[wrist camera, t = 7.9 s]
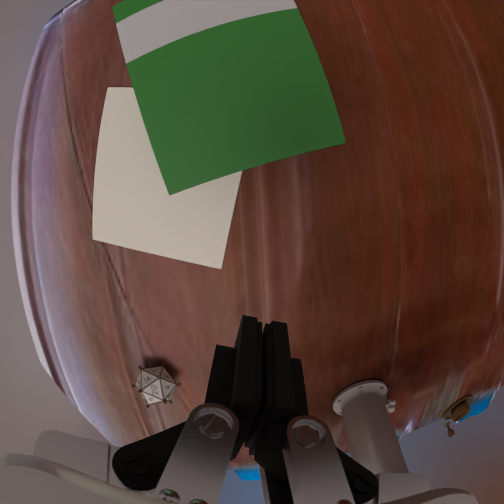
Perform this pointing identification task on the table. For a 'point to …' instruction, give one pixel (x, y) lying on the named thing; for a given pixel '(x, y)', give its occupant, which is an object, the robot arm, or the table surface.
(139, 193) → the desk pad
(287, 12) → the hardback book
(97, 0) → the table surface
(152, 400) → the game die
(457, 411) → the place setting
